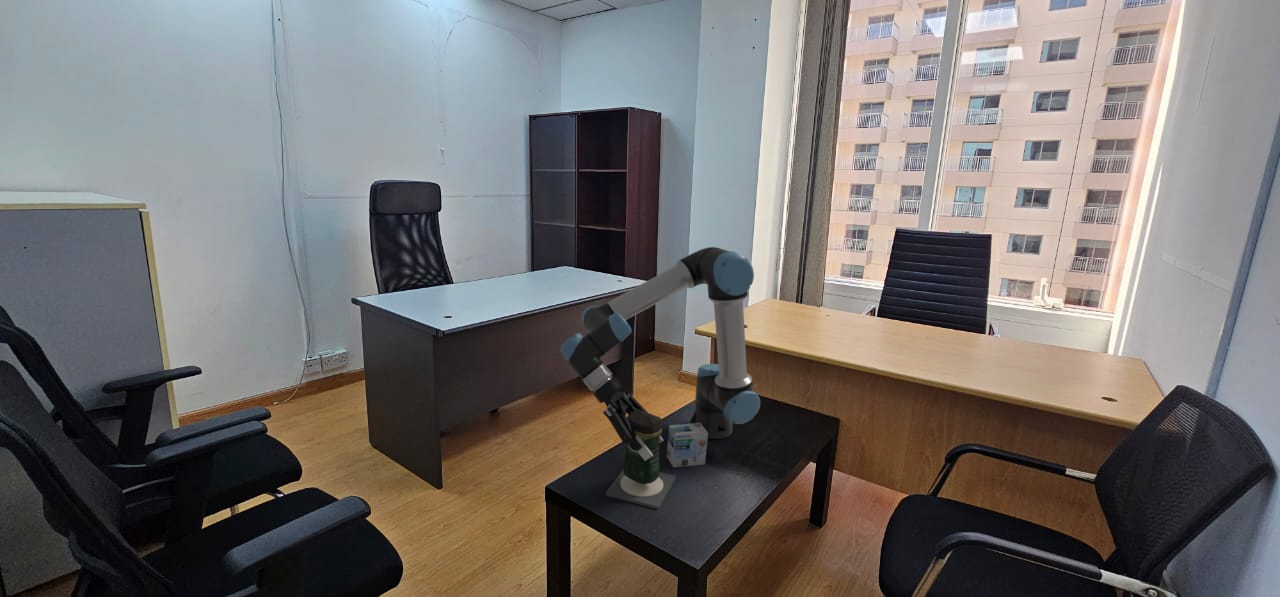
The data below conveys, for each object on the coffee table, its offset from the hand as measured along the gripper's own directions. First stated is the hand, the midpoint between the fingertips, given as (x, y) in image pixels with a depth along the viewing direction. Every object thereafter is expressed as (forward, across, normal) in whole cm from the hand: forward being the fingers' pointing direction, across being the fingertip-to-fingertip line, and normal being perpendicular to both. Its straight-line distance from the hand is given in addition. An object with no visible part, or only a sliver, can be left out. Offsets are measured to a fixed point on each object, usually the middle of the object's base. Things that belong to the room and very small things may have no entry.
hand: (654, 450), depth 144 cm
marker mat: (+6, 0, -11) cm, 12 cm away
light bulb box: (+12, -19, -6) cm, 23 cm away
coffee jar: (+4, 0, -9) cm, 10 cm away
